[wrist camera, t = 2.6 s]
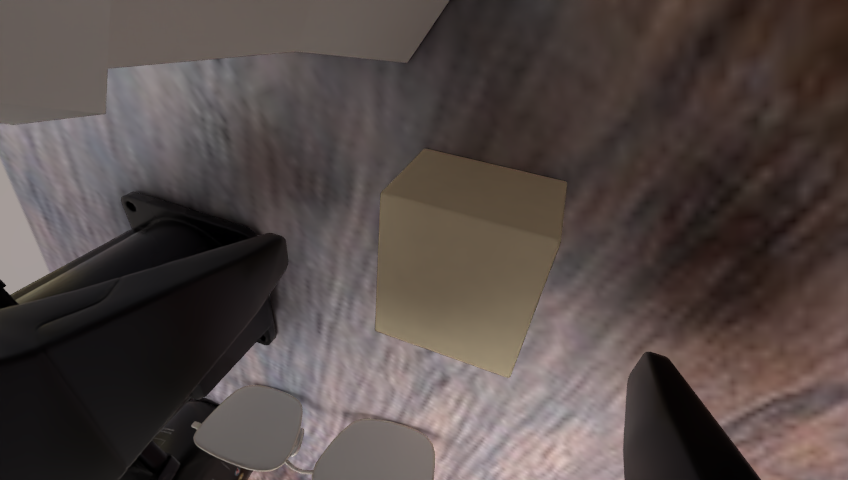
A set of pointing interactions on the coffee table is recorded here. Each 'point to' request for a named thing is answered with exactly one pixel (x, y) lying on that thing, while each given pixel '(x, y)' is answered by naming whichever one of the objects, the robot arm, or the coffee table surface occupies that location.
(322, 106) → the coffee table surface
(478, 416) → the coffee table surface
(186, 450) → the supplement bottle
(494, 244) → the beige block
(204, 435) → the eyeglasses
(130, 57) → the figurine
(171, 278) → the robot arm
